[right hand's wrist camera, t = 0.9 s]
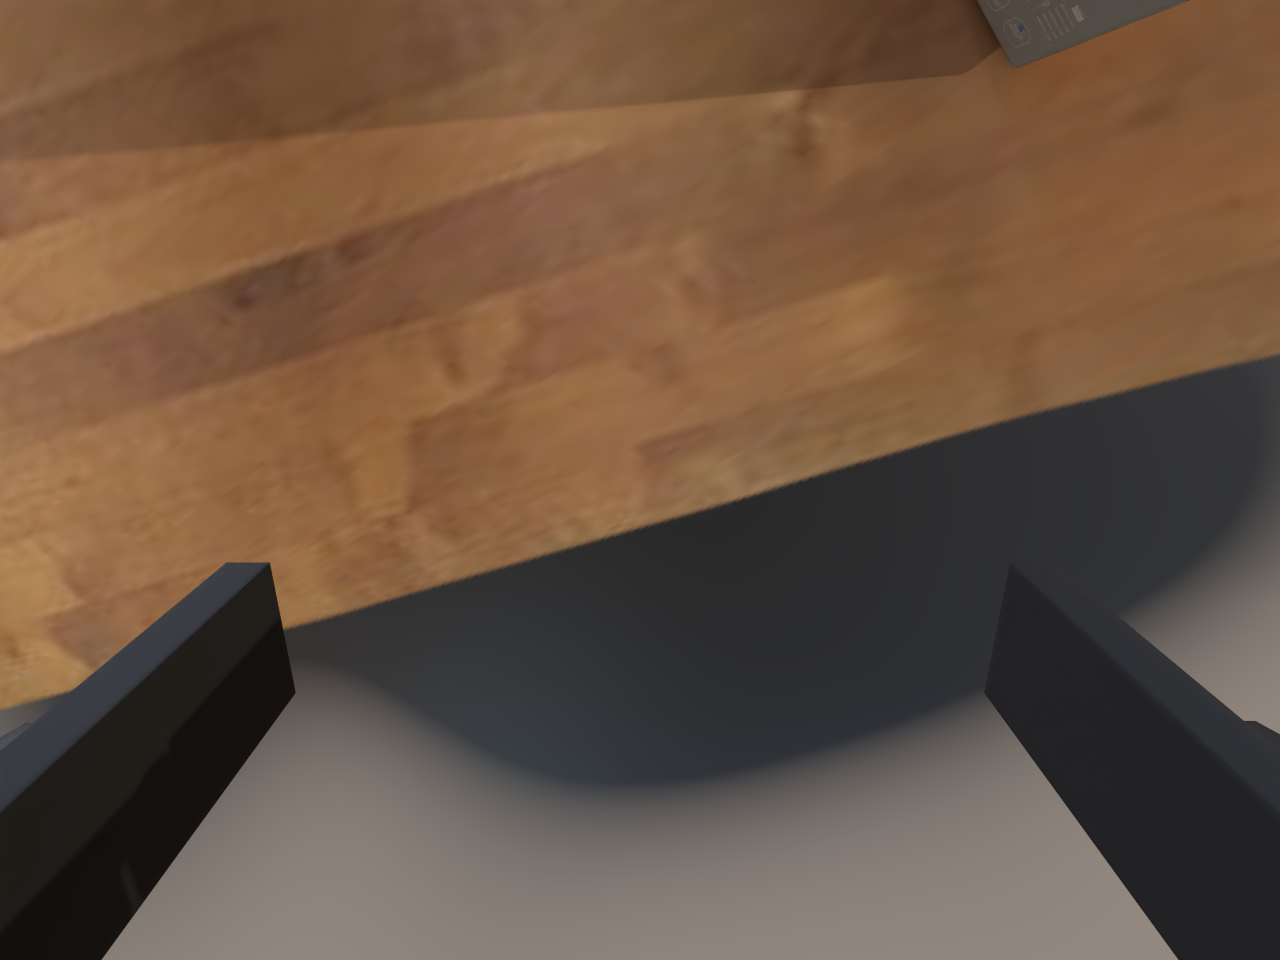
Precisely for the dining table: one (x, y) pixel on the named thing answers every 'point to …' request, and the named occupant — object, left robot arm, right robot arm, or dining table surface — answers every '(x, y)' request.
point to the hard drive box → (1060, 23)
